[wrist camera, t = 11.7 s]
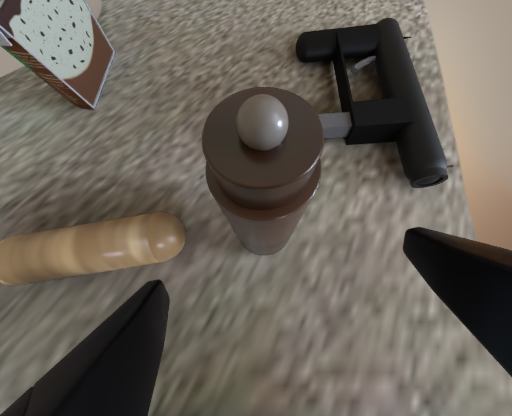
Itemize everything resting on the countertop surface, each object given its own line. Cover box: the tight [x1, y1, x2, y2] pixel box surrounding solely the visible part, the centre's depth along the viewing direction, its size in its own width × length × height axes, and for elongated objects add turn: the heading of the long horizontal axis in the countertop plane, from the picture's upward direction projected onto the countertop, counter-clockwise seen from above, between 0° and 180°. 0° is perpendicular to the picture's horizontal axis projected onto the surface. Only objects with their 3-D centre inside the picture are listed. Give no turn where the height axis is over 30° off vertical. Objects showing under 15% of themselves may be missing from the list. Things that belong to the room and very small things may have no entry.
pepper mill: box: [202, 87, 324, 255], centre depth 12 cm, size 5×5×14 cm
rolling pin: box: [0, 212, 186, 286], centre depth 17 cm, size 15×4×4 cm, turn 99°
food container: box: [0, 0, 115, 109], centre depth 21 cm, size 12×6×10 cm, turn 178°
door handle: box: [296, 18, 453, 188], centre depth 22 cm, size 3×20×16 cm
